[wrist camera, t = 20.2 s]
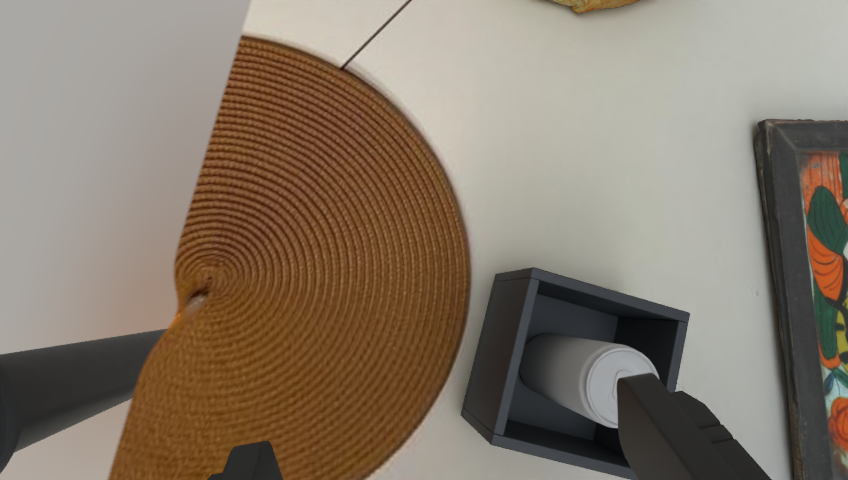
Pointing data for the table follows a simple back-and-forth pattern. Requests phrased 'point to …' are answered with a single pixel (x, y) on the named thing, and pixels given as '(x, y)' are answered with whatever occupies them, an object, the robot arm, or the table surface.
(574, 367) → the beverage can
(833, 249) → the painting
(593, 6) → the croissant
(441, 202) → the table surface
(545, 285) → the bin
